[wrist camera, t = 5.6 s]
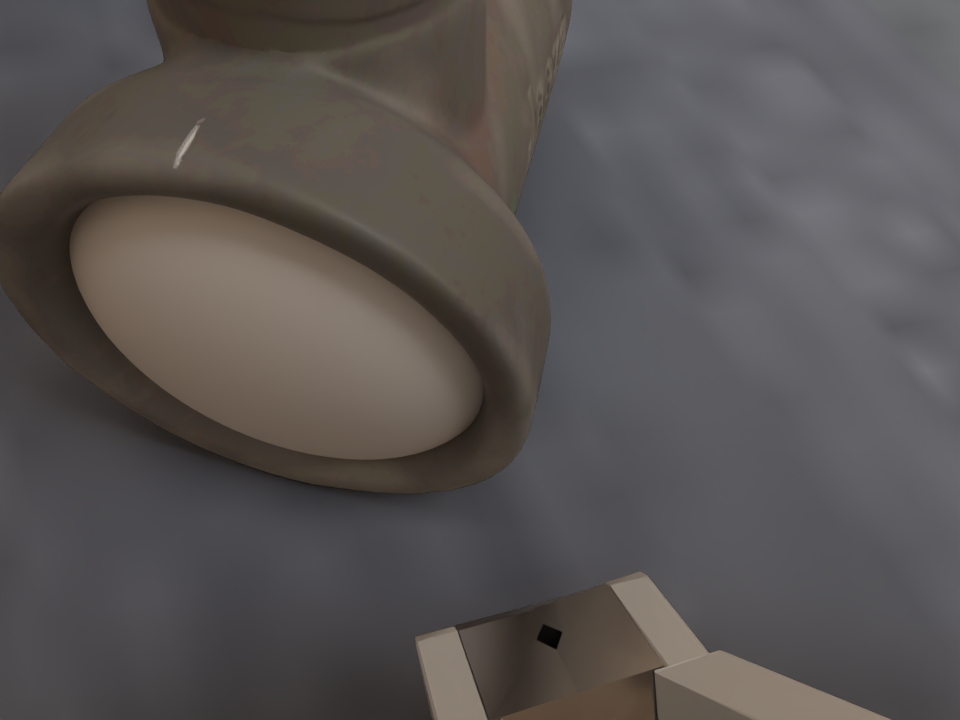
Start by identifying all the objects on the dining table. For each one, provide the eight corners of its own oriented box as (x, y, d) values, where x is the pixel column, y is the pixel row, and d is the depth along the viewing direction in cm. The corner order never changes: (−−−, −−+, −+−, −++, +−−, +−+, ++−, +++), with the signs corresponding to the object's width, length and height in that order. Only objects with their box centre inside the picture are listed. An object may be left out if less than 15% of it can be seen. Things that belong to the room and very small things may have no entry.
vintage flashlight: (507, 561, 14) (574, 77, 5) (109, 459, 15) (-374, -86, 6) (608, 139, 20) (712, -383, 12) (327, 88, 21) (235, -427, 13)
